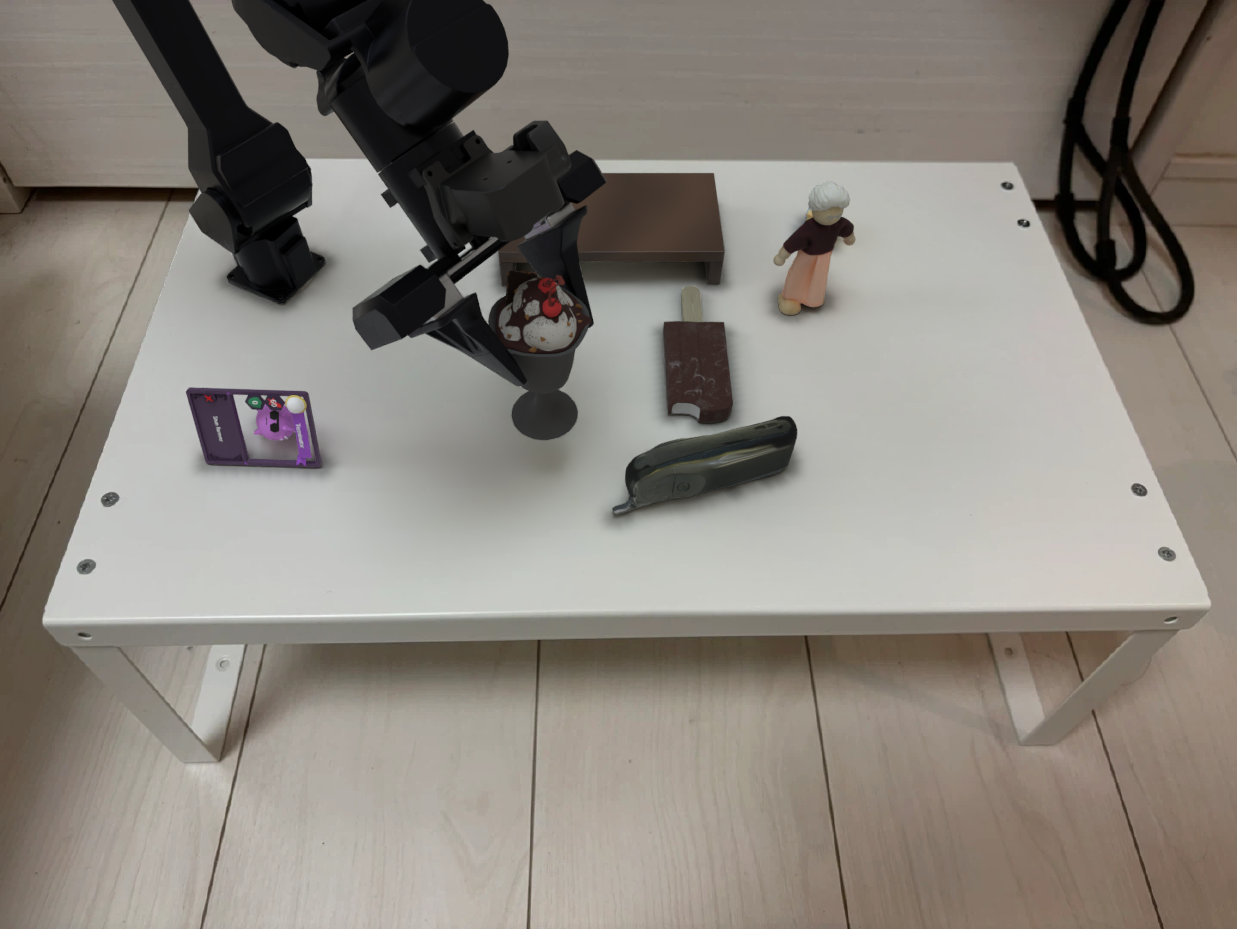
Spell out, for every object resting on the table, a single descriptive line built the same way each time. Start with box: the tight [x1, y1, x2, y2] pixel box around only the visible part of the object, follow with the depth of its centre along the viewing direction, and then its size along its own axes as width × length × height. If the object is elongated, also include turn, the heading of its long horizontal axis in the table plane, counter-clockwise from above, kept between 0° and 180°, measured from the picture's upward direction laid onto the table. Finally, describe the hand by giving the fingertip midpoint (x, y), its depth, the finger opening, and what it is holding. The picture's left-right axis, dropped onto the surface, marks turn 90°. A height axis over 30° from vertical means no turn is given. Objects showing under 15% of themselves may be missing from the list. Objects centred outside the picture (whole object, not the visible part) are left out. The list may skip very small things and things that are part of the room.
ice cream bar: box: [662, 285, 734, 424], centre depth 80 cm, size 5×2×15 cm
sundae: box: [487, 270, 592, 441], centre depth 63 cm, size 7×7×15 cm
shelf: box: [497, 172, 726, 287], centre depth 87 cm, size 20×11×4 cm, turn 92°
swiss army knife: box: [611, 415, 798, 516], centre depth 71 cm, size 5×3×15 cm
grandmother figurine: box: [772, 180, 857, 316], centre depth 79 cm, size 8×4×13 cm, turn 123°
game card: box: [185, 387, 323, 468], centre depth 72 cm, size 7×5×9 cm
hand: (556, 355), depth 62 cm, fingers closed on sundae, 6 cm apart
